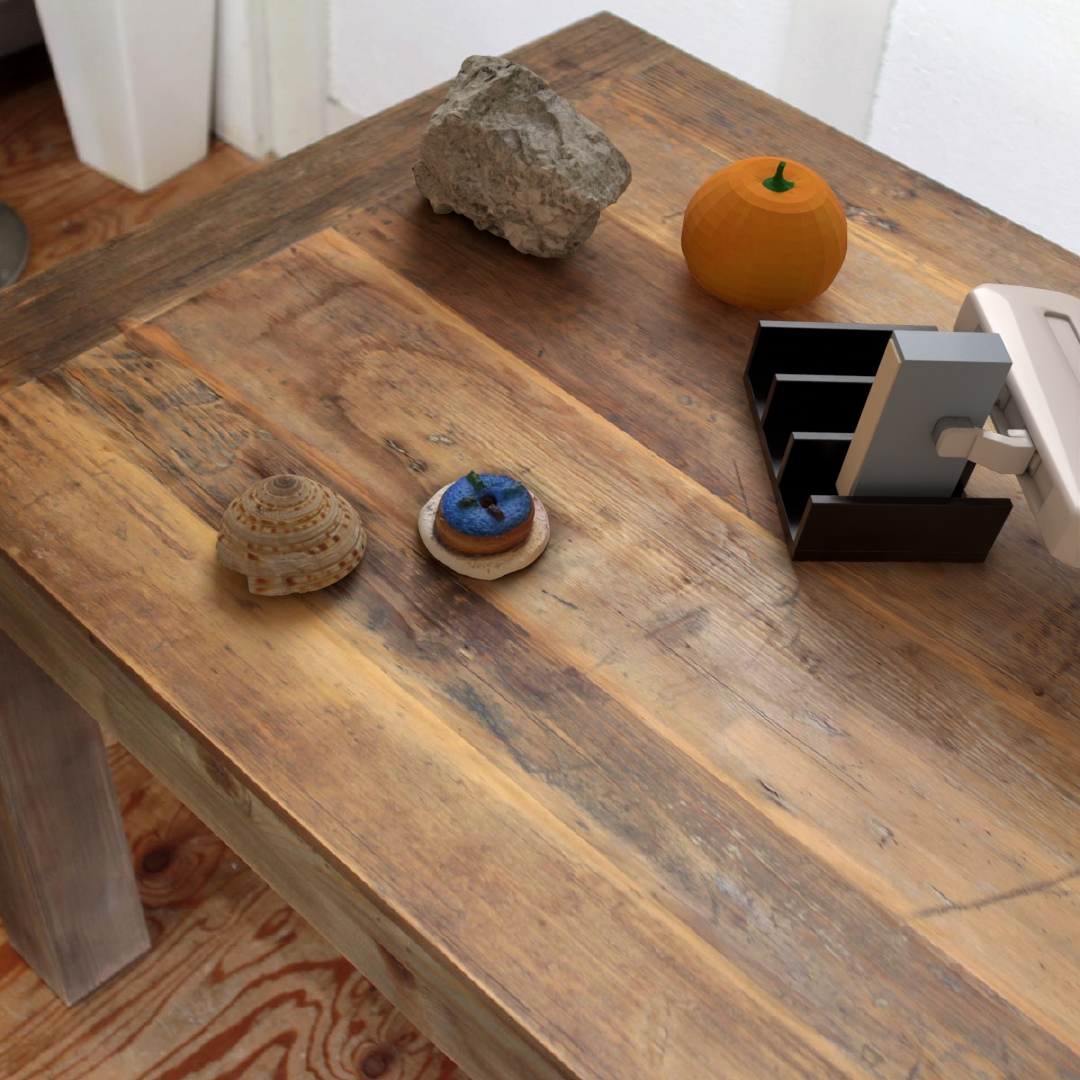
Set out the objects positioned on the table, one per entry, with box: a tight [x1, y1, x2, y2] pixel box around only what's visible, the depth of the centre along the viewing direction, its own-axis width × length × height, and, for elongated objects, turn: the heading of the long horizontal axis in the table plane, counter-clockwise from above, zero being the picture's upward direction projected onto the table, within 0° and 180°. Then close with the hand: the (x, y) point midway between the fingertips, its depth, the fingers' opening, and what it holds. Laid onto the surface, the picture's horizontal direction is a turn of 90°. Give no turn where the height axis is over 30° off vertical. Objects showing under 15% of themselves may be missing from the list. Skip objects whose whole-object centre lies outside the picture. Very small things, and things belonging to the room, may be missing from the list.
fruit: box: [680, 155, 848, 313], centre depth 94 cm, size 12×12×10 cm
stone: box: [411, 54, 633, 259], centre depth 96 cm, size 10×12×15 cm
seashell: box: [215, 473, 368, 597], centre depth 75 cm, size 8×6×8 cm
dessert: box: [417, 469, 551, 581], centre depth 78 cm, size 8×7×6 cm
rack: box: [742, 319, 1014, 564], centre depth 83 cm, size 12×16×5 cm
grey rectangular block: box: [836, 330, 1013, 497], centre depth 76 cm, size 2×6×12 cm, turn 94°
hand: (927, 412), depth 75 cm, fingers closed on grey rectangular block, 2 cm apart
